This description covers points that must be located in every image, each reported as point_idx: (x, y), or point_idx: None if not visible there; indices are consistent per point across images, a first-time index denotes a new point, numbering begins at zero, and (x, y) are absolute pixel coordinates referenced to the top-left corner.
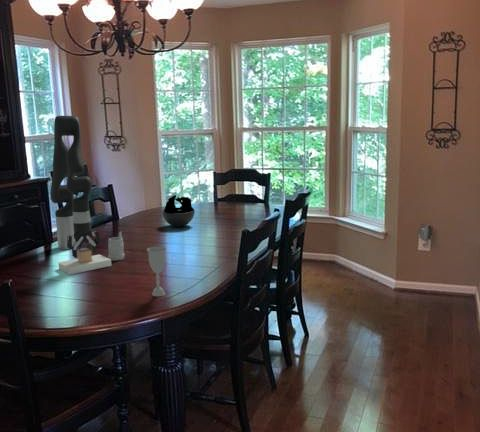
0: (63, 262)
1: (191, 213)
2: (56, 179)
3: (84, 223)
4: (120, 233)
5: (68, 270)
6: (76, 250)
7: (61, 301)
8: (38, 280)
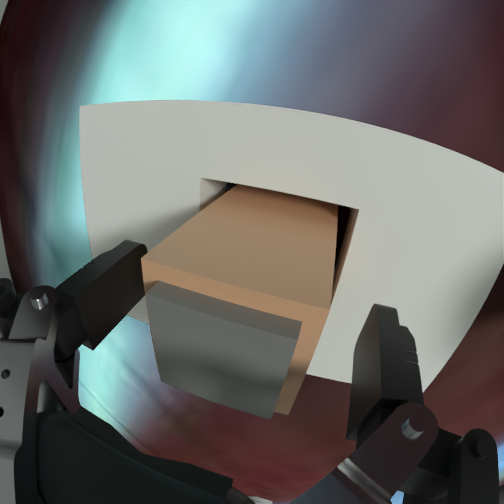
0: (102, 138)
1: None
2: None
3: None
4: None
5: None
6: (97, 345)
7: (91, 403)
8: (31, 230)
